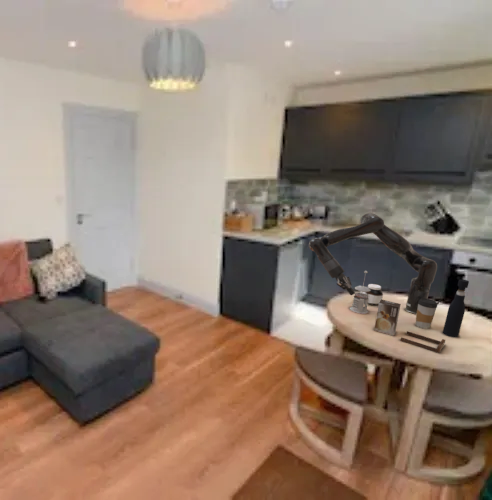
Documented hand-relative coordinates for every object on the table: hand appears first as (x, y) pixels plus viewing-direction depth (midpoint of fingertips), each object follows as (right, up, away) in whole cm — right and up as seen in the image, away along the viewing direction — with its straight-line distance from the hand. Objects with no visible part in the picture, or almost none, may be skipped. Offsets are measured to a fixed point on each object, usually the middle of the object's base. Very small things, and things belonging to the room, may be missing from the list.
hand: (353, 294), depth 203 cm
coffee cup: (+36, -17, -3) cm, 40 cm away
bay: (+22, -22, -20) cm, 37 cm away
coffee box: (+12, -19, -9) cm, 24 cm away
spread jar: (+25, -9, +28) cm, 38 cm away
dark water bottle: (+44, -20, -12) cm, 50 cm away
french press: (+13, -12, +16) cm, 24 cm away
